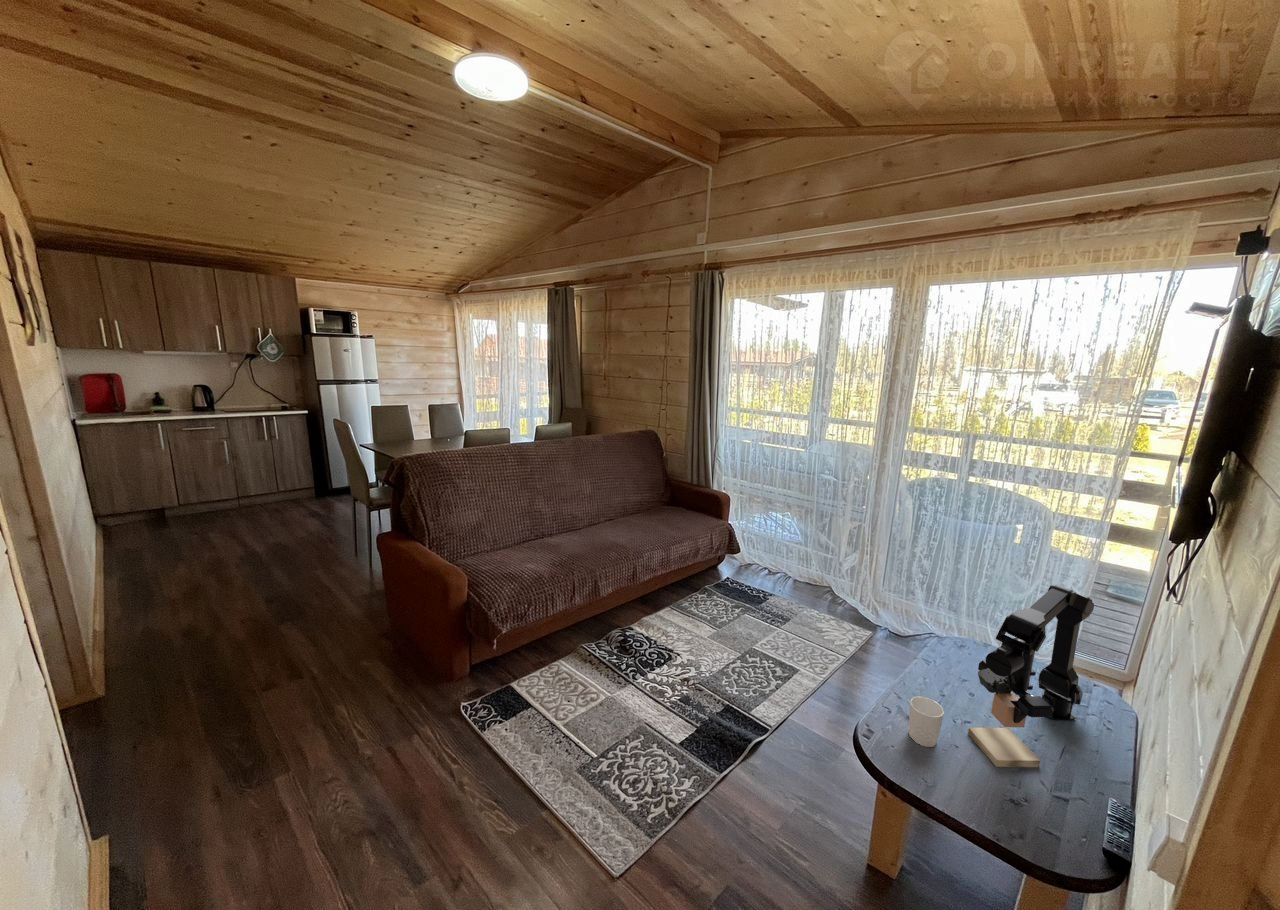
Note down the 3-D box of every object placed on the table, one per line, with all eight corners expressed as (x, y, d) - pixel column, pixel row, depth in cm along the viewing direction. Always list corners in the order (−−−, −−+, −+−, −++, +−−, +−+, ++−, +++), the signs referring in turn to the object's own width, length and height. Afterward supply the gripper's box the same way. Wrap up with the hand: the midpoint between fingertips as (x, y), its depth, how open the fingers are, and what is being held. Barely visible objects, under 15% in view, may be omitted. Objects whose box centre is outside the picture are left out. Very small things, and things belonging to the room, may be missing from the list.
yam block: (1009, 713, 130) (1013, 693, 129) (1024, 727, 125) (1027, 707, 124) (991, 713, 130) (994, 693, 129) (1004, 727, 125) (1008, 707, 124)
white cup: (937, 732, 135) (941, 701, 133) (940, 753, 128) (945, 720, 126) (905, 723, 138) (909, 693, 136) (907, 743, 131) (911, 711, 129)
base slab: (1007, 734, 135) (1008, 727, 134) (1038, 767, 124) (1040, 760, 123) (967, 733, 135) (968, 727, 134) (996, 766, 124) (997, 760, 123)
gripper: (962, 641, 133) (955, 690, 136) (1013, 687, 115) (1003, 743, 118) (1003, 641, 133) (994, 690, 136) (1060, 687, 115) (1049, 743, 118)
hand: (1008, 715), depth 127 cm, fingers closed on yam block, 5 cm apart
